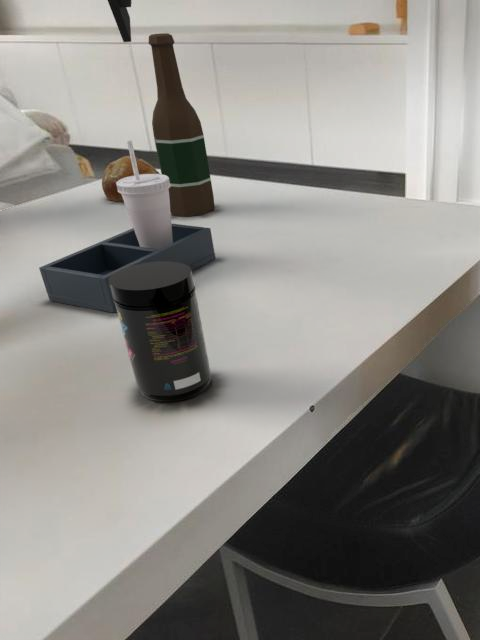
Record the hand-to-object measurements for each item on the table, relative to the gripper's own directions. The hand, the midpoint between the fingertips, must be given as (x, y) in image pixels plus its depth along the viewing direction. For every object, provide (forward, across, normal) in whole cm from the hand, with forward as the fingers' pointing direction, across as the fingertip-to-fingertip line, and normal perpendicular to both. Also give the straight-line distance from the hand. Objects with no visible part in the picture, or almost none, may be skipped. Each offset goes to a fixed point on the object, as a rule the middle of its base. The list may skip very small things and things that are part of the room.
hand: (57, 33), depth 68 cm
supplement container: (0, +10, -37) cm, 39 cm away
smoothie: (+23, +4, -13) cm, 27 cm away
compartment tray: (+21, +1, -16) cm, 26 cm away
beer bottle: (+43, +5, +5) cm, 43 cm away
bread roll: (+52, -6, +14) cm, 54 cm away
